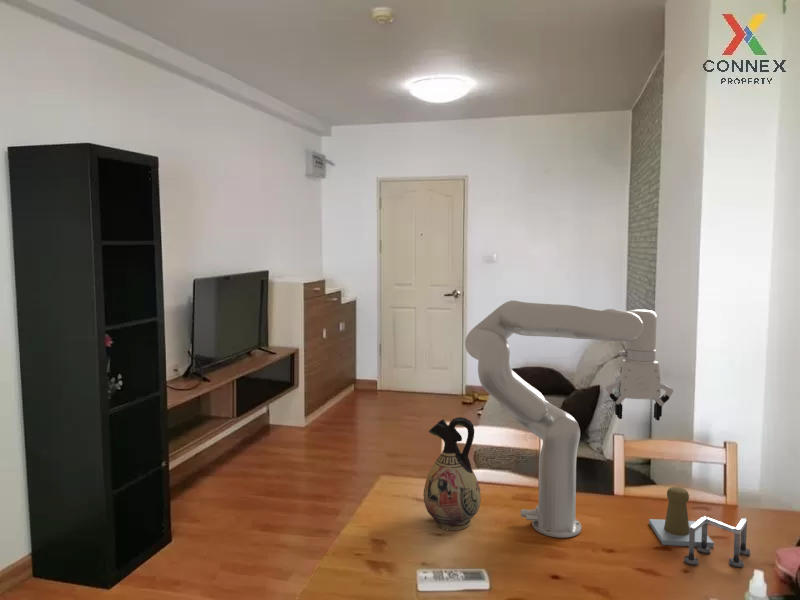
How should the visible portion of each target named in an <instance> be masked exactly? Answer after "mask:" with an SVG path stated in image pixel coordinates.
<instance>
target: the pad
mask: <svg viewBox="0 0 800 600" xmlns="http://www.w3.org/2000/svg"><path fill="white" fill-rule="evenodd" d="M665 520H666V519H659V518H657V519H656V518H655V519H654V518H649V519H648V524H649V525H651V526H650V527H651V529H652V530H653V532H654V533H655V535H656V536H657V538H658V539H659V541H660V542H661V544H662V546H677V547H678V546H681V547H689V534H688V535H684V536H681V535H674V534H671V533H669V532H667V531H665V529H664V526H665ZM688 522H689V527H690V526H692V525H693V524H694V523H695V522H697V520H688ZM701 540H702V526H701V527H700V528H699V529H698V530H696V531H695V547H696V548H697V546H698V545H701ZM714 543H715V542H714V541H713V540H712V539H711V538H710V536H709V535H708V534H707V546H709V547H710V548H714Z"/></svg>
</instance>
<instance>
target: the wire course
mask: <svg viewBox="0 0 800 600" xmlns="http://www.w3.org/2000/svg"><path fill="white" fill-rule="evenodd" d="M708 525H712V526H714V527H716V528H720V529H721V530H724V531H728V532H730V533H732V534H734V535H733V557H730V558H728V565H730V566H731V567H733V568H737V569H742V568H744V565H745V564H744V563H745V562H744V561H743V560H742V559H740V556H746V557H748V556H750V555H751V550H750V549H749V548H747V531H748V530H747V529H748V518H746V517H741V519H740V521H739V522H738V523H737V525H736V527H735V526H732V525H729V524H727V523H724V522H722V521H719V520H717V519H713V518H710V517H708V516H706V515H702V517H700V518H699V519H697V520H696V522H695V523H694V524H693V525H692V526H690V527H689V546H688V555H685V556H684V557H683V559H684V560H683V562H684V563H685V564H686V565H690V566H695V567H696V566H698V565H699V559H698V558H697V557H695V547H696V546H695V531H696V530H698V529H699V528H700V527H701V528H702V540H701V545H698V546H697V547H696V551H697V552H699V553H701V554H705V555H708V554H711V553H712V549H711V548H712V547H709V546H707V535H708Z"/></svg>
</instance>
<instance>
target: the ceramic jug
mask: <svg viewBox="0 0 800 600" xmlns="http://www.w3.org/2000/svg"><path fill="white" fill-rule="evenodd" d="M456 426H463V427H464V428H466V430H467V437H466V441H465V445H464V447H463V450H462V453H461V451H460V448H459V447H458V444H457V443H458V442H462V441H463V436H462V435H461V434H460V432H458V431H457V429H456ZM428 433H430V434H432V435H433V436H436V437H438V438H440V439H441V440H442V441H443V444H444V446H443V450H442V452H441V453H440V455H438V457H437V458H436V460H435V462H434V463H433V465H432V466H431V468H430V469H429V472H428V474H427V477H426V480H425V484H424V489H423V494H422V495H423V503H424V506H425V509H426V511H427V513H428V514H429V516H431V518H432V519H433V520H434V521H435V522H436V523H435V525H436V524H437V525H438V526H439V527H441V528H444V529H443V530H445V529H448V530H447V531H458V530H463V529H466V528H469V527H470V526H471V520H472V519H473V518H474V516H476V514H478V512H479V509H480V507H481V502H482V497H481V494H482V493H481V488H480V484H479V481H478V478H477V476H476V474H475V472H474V470H473V469H472V464H471V462H470V458H469V454H470V451H471V447H472V444H473V441H474V439H475V428H474V424H473V423H472V421H471V420H470V419H468V418H466V417H462V416H461V417H459V416H458V417H455V418H452V420H450V422H449V423H448V424H447V422H446V420H445V419H441V420H440V421H438V422H437V423H436V424H434V426H432V427H431V428H430V429H429V430H428ZM437 525H436V526H437ZM438 526H437V527H438ZM439 527H438V528H439ZM441 528H440V529H441Z"/></svg>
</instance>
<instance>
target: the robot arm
mask: <svg viewBox="0 0 800 600" xmlns="http://www.w3.org/2000/svg"><path fill="white" fill-rule="evenodd" d="M657 318H658V317H657V313H656V312H655V311H653V310H649V309H631V310H622V309H614V308H606V309H603V310H600V309H599V310H597V309H593V308H592V309H591V308H586V307H581V306H576V305H569V304H558V303H557V304H553V303H552V304H551V303H535V302H524V301H519V300H508V301H506V302H504V303H503V304H501V305H500V306H498V307H497V308H495V309H494V310H493V311H492V312H491V313H489V315H488V316H486V317H485V318H483V319H482V320H481V321H480V322H479V323H477V325H475V326H474V327H473V328H472V329H471V330H470V331H469V332H468V334H467V335H466V337H465V340H464V345H465V349H466V352H467V353H468V355H469V356H471V358H472V359H473V358H474V360H478V362H477V373H478V375H477V376H478V379H479V382H480V384H481V385H480V386H482V388H483V389H484V390H485V391H486V392H487V394H489V395H490V396H491V397H492V398H494V400H496V401H497V402H498V403H499V406H500V407H501V409H502V410H503V411H504V412H505V413H506V414H508V415H509V416H510V417H511V418H512V419H514V420H515V421H517V422H518V423H519V424H520V425H522V426H523V428H526V429H527V430H528V431H529V432H531V433H532V434H534V436H536V437H538V438H539V439H541V440H542V445H541V450H540V451H539V452H540V453H539V457H538V505H536V506H535V507H536V508H532V509H520V518H525V519H526V521H532V527H533V528H534V530H535V531H537V532H538V533H540V534H542V535H545V536H548V537H552V538H563V539H564V538H572V537H575V536H577V535H579V534H580V533H581V532H582V523H581V522H580V521H579V520H578V519H577V518H576V501H577V500H576V499H577V497H576V496H577V495H576V493H577V492H576V491H577V457H578V456H577V454H578V448H579V444H580V437H581V429H580V426H579V423H578V421H577V420H576V419H575V417H573V415H572V414H570V413H569V412H567V411H565V410H563V409H562V408H559V407H558V406H555V405H554V404H552V403H551V402H549V401H548V400H547V399H546V398H545V396H544V395H543V394H542V392H540V391H539V390H538V389H537V388H536V387H535V386H532V385H531V384H530V383H528V382H527V381H525V379H523V378H522V377H521V376H520V375H518V373H517V372H515V371H514V370H513V369H512V367H511V366H510V355H511V351H510V350H511V349H510V345H509V342H508V339H509V338H510V337H511V336H512V335H513V334H516V335H519V336H524V337H545V338H565V339H575V340H578V339H579V340H592V341H593V340H595V341H607V342H624V343H625V348H624V350H620V351H619V357H623V358H624V359H622V362H621V365H620V370H619V371H620V372H619V377H618V380H616V381H615V382H612V383H609V384H608V385H605V388H604V389H605V390H606V392H607V394H608V396H609V397H610V399H612V401H614V403H615V405H614V408H615V409H614V413H615V415H616V417H617V418H618V419H619V420H623V404H622V402H624V400H625V399H627V400H629V399H631V400H654V401H655V403H654V404H653V418H654V419H655V420H656V421H660V420H661V419H660V418H661V417H662V416H663V406H664V405H665V403H666V402H668V401H669V400H670V397H671V396H672V394H673V393H674V389H673V388H671V387H670V386H667V385H666V384H664V383H662V381H661V369H660V363H659V361H657V360H656V349H657V348H656V345H657V342H656V341H657V324H658V323H657ZM617 388H618V389H617ZM614 389H617V390H618V394H617V395H615V394H614V392H613V390H614ZM662 390H663V391H665V392H664V394H663V395H662ZM661 395H662V396H661Z"/></svg>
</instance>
